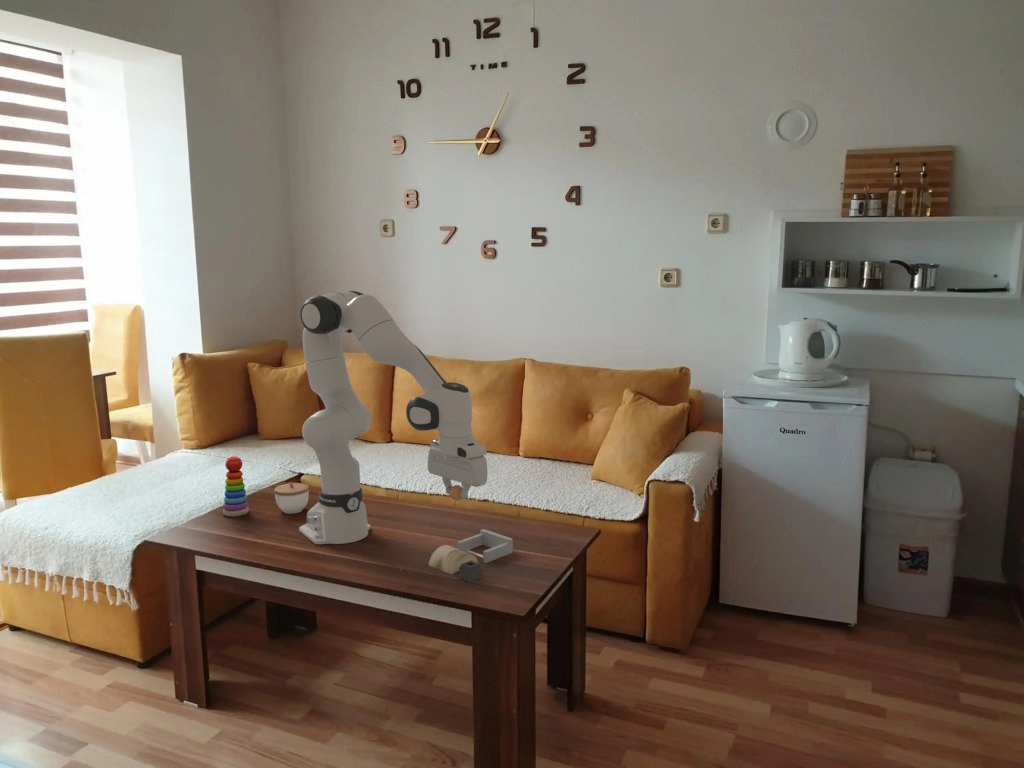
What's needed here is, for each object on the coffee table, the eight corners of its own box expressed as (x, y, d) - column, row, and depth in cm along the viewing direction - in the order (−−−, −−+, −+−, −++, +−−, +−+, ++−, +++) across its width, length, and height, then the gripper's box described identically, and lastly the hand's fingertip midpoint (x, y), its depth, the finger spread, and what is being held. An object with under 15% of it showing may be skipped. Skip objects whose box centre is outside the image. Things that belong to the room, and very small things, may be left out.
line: (465, 551, 221) (465, 550, 221) (468, 550, 221) (468, 549, 221) (488, 559, 215) (488, 559, 215) (490, 558, 215) (490, 558, 215)
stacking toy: (244, 517, 251) (240, 460, 248) (219, 517, 251) (215, 460, 248) (252, 509, 259) (248, 453, 256) (228, 509, 259) (224, 453, 256)
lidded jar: (281, 505, 263) (279, 478, 261) (313, 505, 263) (312, 478, 261) (271, 516, 252) (269, 487, 251) (305, 516, 252) (303, 487, 250)
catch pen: (457, 552, 220) (457, 538, 220) (484, 542, 227) (483, 528, 227) (486, 563, 212) (486, 548, 212) (512, 552, 219) (512, 538, 219)
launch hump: (428, 586, 212) (427, 550, 211) (456, 575, 219) (456, 540, 218) (451, 596, 206) (450, 559, 204) (479, 584, 213) (478, 549, 211)
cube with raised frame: (459, 578, 203) (459, 564, 202) (471, 573, 205) (470, 559, 205) (470, 582, 200) (469, 568, 199) (481, 577, 203) (481, 563, 202)
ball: (446, 500, 210) (445, 485, 209) (457, 496, 213) (457, 482, 212) (456, 503, 207) (456, 488, 207) (467, 499, 210) (467, 485, 209)
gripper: (421, 440, 213) (422, 490, 215) (473, 453, 198) (473, 506, 201) (439, 436, 217) (440, 485, 219) (491, 449, 203) (491, 501, 205)
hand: (456, 495), depth 210 cm, fingers closed on ball, 4 cm apart
